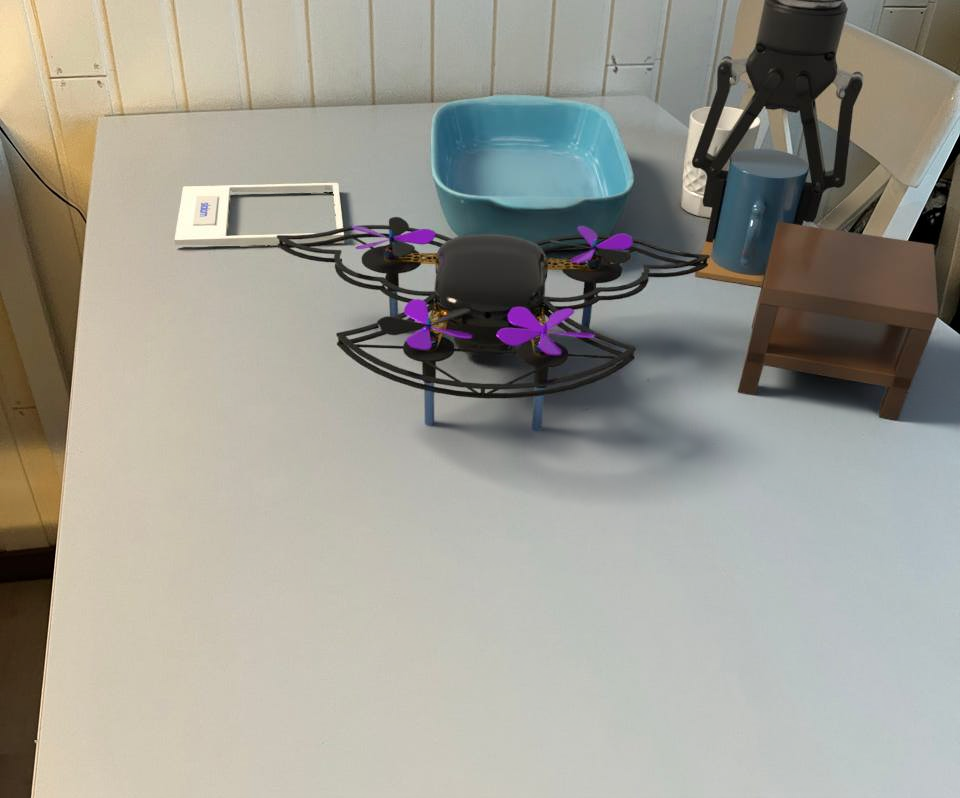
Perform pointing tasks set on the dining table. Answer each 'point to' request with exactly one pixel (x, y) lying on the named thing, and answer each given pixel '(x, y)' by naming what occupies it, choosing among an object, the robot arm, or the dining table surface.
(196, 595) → the dining table surface
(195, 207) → the photo frame
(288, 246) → the drone
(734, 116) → the white cup
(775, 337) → the walnut side table
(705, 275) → the cork mat
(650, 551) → the dining table surface
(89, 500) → the dining table surface
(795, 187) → the mug
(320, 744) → the dining table surface
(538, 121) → the casserole dish
